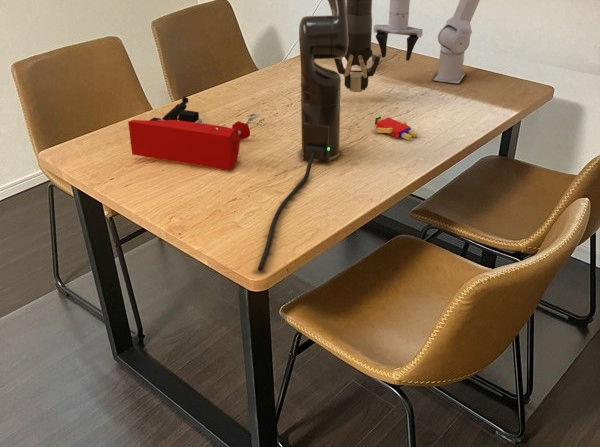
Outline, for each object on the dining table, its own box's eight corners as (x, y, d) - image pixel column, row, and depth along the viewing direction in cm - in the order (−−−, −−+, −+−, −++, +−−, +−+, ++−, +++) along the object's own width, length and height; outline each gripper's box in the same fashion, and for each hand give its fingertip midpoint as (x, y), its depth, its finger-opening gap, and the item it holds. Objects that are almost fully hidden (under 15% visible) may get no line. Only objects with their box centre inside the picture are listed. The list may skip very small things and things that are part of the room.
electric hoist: (177, 78, 171) (124, 120, 146) (270, 90, 165) (231, 136, 141) (180, 112, 176) (129, 158, 152) (269, 125, 171) (232, 175, 146)
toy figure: (421, 128, 160) (386, 113, 167) (405, 136, 156) (369, 120, 163) (420, 136, 162) (385, 121, 169) (404, 144, 158) (368, 128, 165)
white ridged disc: (357, 73, 202) (357, 63, 200) (335, 66, 209) (336, 56, 207) (378, 66, 208) (378, 56, 206) (356, 60, 214) (357, 50, 212)
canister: (365, 89, 181) (366, 74, 178) (356, 93, 178) (356, 78, 176) (355, 86, 183) (356, 71, 181) (346, 89, 181) (346, 74, 179)
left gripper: (385, 27, 173) (382, 86, 182) (336, 23, 176) (335, 82, 185) (381, 34, 167) (377, 95, 176) (329, 31, 170) (329, 90, 179)
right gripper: (371, 13, 181) (368, 59, 188) (419, 17, 176) (415, 64, 183) (378, 7, 186) (376, 52, 194) (426, 12, 181) (421, 58, 188)
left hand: (356, 88), depth 181 cm, fingers closed on canister, 4 cm apart
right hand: (395, 58), depth 189 cm, fingers open, 7 cm apart
